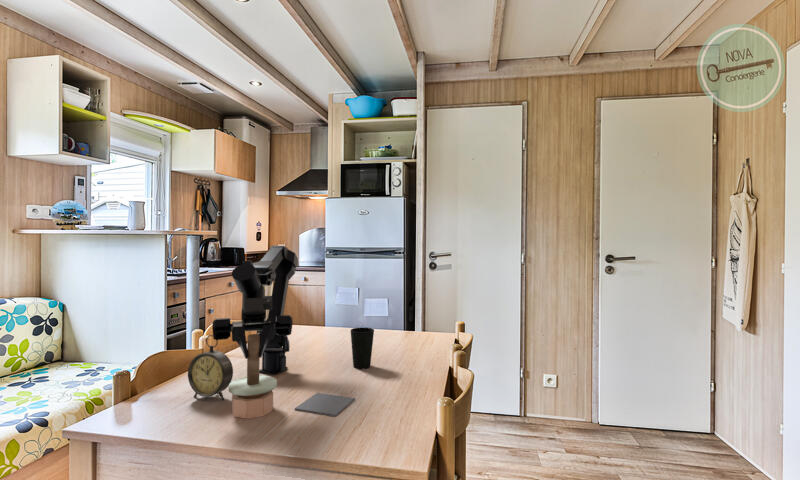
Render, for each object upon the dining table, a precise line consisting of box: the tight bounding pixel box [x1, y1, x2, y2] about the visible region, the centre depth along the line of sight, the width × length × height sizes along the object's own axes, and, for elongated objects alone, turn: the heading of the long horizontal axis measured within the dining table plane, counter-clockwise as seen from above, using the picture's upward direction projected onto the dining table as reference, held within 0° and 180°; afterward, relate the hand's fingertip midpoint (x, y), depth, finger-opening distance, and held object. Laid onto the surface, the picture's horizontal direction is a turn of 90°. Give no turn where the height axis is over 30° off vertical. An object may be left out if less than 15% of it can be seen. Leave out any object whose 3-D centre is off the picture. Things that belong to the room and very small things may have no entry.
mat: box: [294, 392, 356, 417], centre depth 104 cm, size 11×11×1 cm
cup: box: [350, 326, 375, 370], centre depth 136 cm, size 8×8×12 cm
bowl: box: [231, 390, 274, 419], centre depth 101 cm, size 9×9×4 cm
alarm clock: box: [187, 334, 234, 401], centre depth 108 cm, size 11×5×16 cm, turn 75°
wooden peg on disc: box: [228, 333, 278, 396], centre depth 101 cm, size 11×11×12 cm
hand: (253, 357), depth 99 cm, fingers closed on wooden peg on disc, 3 cm apart
